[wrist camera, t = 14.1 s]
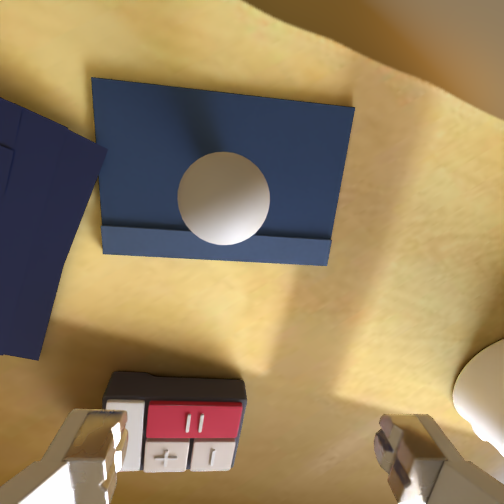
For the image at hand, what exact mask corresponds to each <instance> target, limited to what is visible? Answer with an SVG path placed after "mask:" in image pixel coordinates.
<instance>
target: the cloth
mask: <svg viewBox="0 0 504 504" xmlns="http://www.w3.org/2000/svg"><path fill="white" fill-rule="evenodd" d="M91 82H92V96H93V109H94V122H95V136H96V144H98V145H100V146H102V147H105V148H107V149H108V151H107V154H106V157H105V159H104V162H103V164H102V167H101V170H100V172H99V175H98V176H99V190H100V203H101V217H102V225H101V235H102V248H103V254H111V255H130V256H148V257H167V258H186V259H205V260H223V261H242V262H261V263H280V264H299V265H317V266H327V263H328V258H329V252H330V247H331V242H332V240H331V235H332V230H333V224H334V219H335V214H336V208H337V203H338V197H339V192H340V187H341V181H342V176H343V171H344V165H345V160H346V154H347V149H348V144H349V138H350V133H351V127H352V122H353V117H354V111H355V107H346V106H338V105H329V104H320V103H312V102H303V101H294V100H286V99H277V98H268V97H260V96H251V95H242V94H234V93H225V92H216V91H208V90H199V89H190V88H181V87H173V86H164V85H155V84H147V83H138V82H129V81H121V80H112V79H103V78H95V77H91ZM215 152H230V153H235V154H238V155H241V156H243V157H245V158H247V159H248V160H250V161H251V162H252V163H253V164H255V165H256V166H257V167H258V168H259V170H260V171H261V172H262V174H263V175H264V177H265V179H266V182H267V184H268V188H269V192H270V204H269V210H268V213H267V216H266V219H265V221H264V222H263V224H262V226H261V227H260V228H259V229H258V231H257V232H256V233H255V234H253V235H252V236H251V237H250V238H248V239H246V240H244V241H242V242H239V243H236V244H231V245H217V244H213V243H209V242H207V241H205V240H203V239H201V238H199V237H198V236H196V235H195V234H194V233H193V232H192V231H191V230H190V229H189V228H188V227H187V226H186V224H185V222H184V221H183V219H182V216H181V214H180V211H179V207H178V200H177V198H178V188H179V184H180V181H181V179H182V177H183V175H184V173H185V172H186V170H187V169H188V168H189V166H190V165H192V164H193V163H194V162H195V161H196V160H198V159H199V158H201V157H203V156H205V155H208V154H211V153H215Z"/></svg>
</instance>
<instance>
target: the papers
mask: <svg viewBox="0 0 504 504" xmlns="http://www.w3.org/2000/svg"><path fill="white" fill-rule="evenodd" d="M107 151H108V149H107V148H105V147H102V146H100V145H98V144H96V143H94V142H92V141H90V140H88V139H86V138H84V137H82V136H80V135H78V134H76V133H74V132H72V131H70V130H68V128H67V127H65V126H63V125H61V124H59V123H56V122H54V121H52V120H50V119H48V118H46V117H43V116H41V115H39V114H37V113H35V112H32V111H30V110H28V109H26V108H24V107H21V106H19V105H17V104H15V103H12V102H9V101H7V100H5V99H3V98H0V355H3V354H5V355H10V356H16V357H21V358H27V359H32V360H39V357H40V353H41V349H42V345H43V342H44V338H45V334H46V330H47V326H48V323H49V319H50V315H51V311H52V307H53V304H54V300H55V296H56V292H57V288H58V285H59V281H60V277H61V273H62V269H63V266H64V263H65V260H66V258H67V255H68V253H69V250H70V247H71V245H72V242H73V240H74V237H75V234H76V232H77V229H78V227H79V224H80V221H81V219H82V216H83V214H84V211H85V208H86V206H87V203H88V201H89V198H90V195H91V193H92V190H93V188H94V185H95V183H96V180H97V177H98V175H99V172H100V170H101V167H102V164H103V162H104V159H105V157H106V154H107Z"/></svg>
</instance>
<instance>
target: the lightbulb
mask: <svg viewBox="0 0 504 504" xmlns="http://www.w3.org/2000/svg"><path fill="white" fill-rule="evenodd" d="M177 200H178V207H179V211H180V214H181V216H182V219H183V221H184V222H185V224H186V226H187V227H188V228H189V229H190V230H191V231H192V232H193V233H194V234H195V235H196V236H198V237H199V238H201V239H203V240H205V241H207V242H209V243H213V244H217V245H231V244H236V243H239V242H242V241H244V240H246V239H248V238H250V237H251V236H252V235H253V234H255V233H256V232H257V231H258V229H259V228H260V227H261V226H262V224H263V222H264V221H265V219H266V216H267V213H268V210H269V204H270V192H269V188H268V184H267V182H266V179H265V177H264V175H263V174H262V172H261V171H260V170H259V168H258V167H257V166H256V165H255V164H253V163H252V162H251V161H250V160H248V159H247V158H245V157H243V156H241V155H238V154H235V153H230V152H215V153H211V154H208V155H205V156H203V157H201V158H199V159H198V160H196V161H195V162H194V163H193V164H192V165H190V166H189V168H188V169H187V170H186V172H185V173H184V175H183V177H182V179H181V181H180V184H179V188H178V198H177Z"/></svg>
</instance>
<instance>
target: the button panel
mask: <svg viewBox="0 0 504 504" xmlns="http://www.w3.org/2000/svg"><path fill="white" fill-rule="evenodd" d="M246 404H247V396H246V390H245V383H244V381H243V380H233V379H204V378H175V377H154V376H152V375H150V374H148V373H143V372H113V373H112V375H111V378H110V380H109V383H108V385H107V388H106V390H105V393H104V395H103V399H102V409H103V410H125V411H127V416H128V421H127V423H126V426H125V428H126V429H127V430H128V447H127V451H126V456H125V460H124V463H123V466H122V468H121V469H120V470H119V471H138V470H144V472H182V471H185V470H186V469H190V470H191V471H227V470H230V468H232V467H233V465H234V461H235V456H236V452H237V447H238V442H239V437H240V433H241V428H242V423H243V418H244V414H245V409H246Z"/></svg>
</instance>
